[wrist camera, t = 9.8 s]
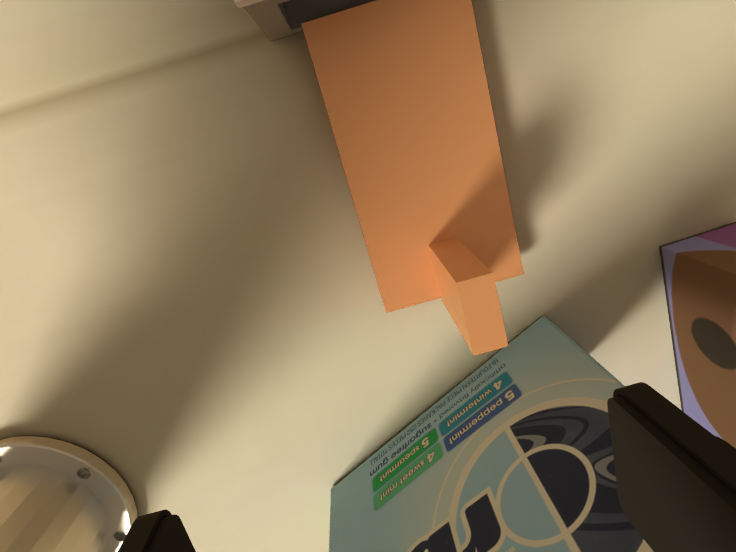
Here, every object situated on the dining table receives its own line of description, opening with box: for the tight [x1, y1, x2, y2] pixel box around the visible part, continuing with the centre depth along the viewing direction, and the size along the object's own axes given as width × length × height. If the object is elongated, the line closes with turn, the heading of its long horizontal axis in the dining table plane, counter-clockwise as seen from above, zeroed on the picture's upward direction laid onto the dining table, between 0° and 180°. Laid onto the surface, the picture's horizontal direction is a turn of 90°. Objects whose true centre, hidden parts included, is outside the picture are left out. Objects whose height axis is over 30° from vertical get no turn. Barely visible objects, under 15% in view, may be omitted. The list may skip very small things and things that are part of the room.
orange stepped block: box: [301, 0, 524, 356], centre depth 22 cm, size 16×8×8 cm, turn 16°
